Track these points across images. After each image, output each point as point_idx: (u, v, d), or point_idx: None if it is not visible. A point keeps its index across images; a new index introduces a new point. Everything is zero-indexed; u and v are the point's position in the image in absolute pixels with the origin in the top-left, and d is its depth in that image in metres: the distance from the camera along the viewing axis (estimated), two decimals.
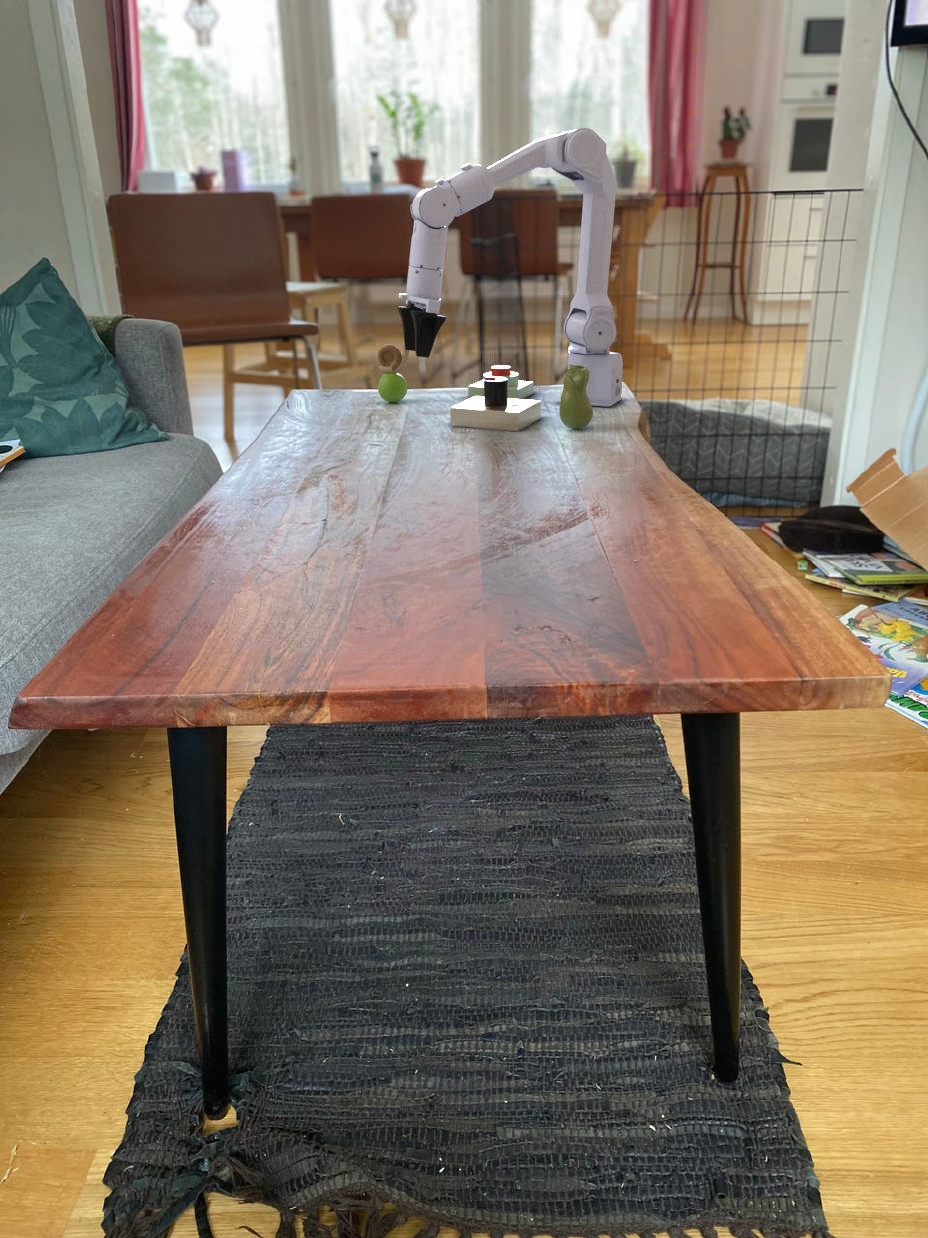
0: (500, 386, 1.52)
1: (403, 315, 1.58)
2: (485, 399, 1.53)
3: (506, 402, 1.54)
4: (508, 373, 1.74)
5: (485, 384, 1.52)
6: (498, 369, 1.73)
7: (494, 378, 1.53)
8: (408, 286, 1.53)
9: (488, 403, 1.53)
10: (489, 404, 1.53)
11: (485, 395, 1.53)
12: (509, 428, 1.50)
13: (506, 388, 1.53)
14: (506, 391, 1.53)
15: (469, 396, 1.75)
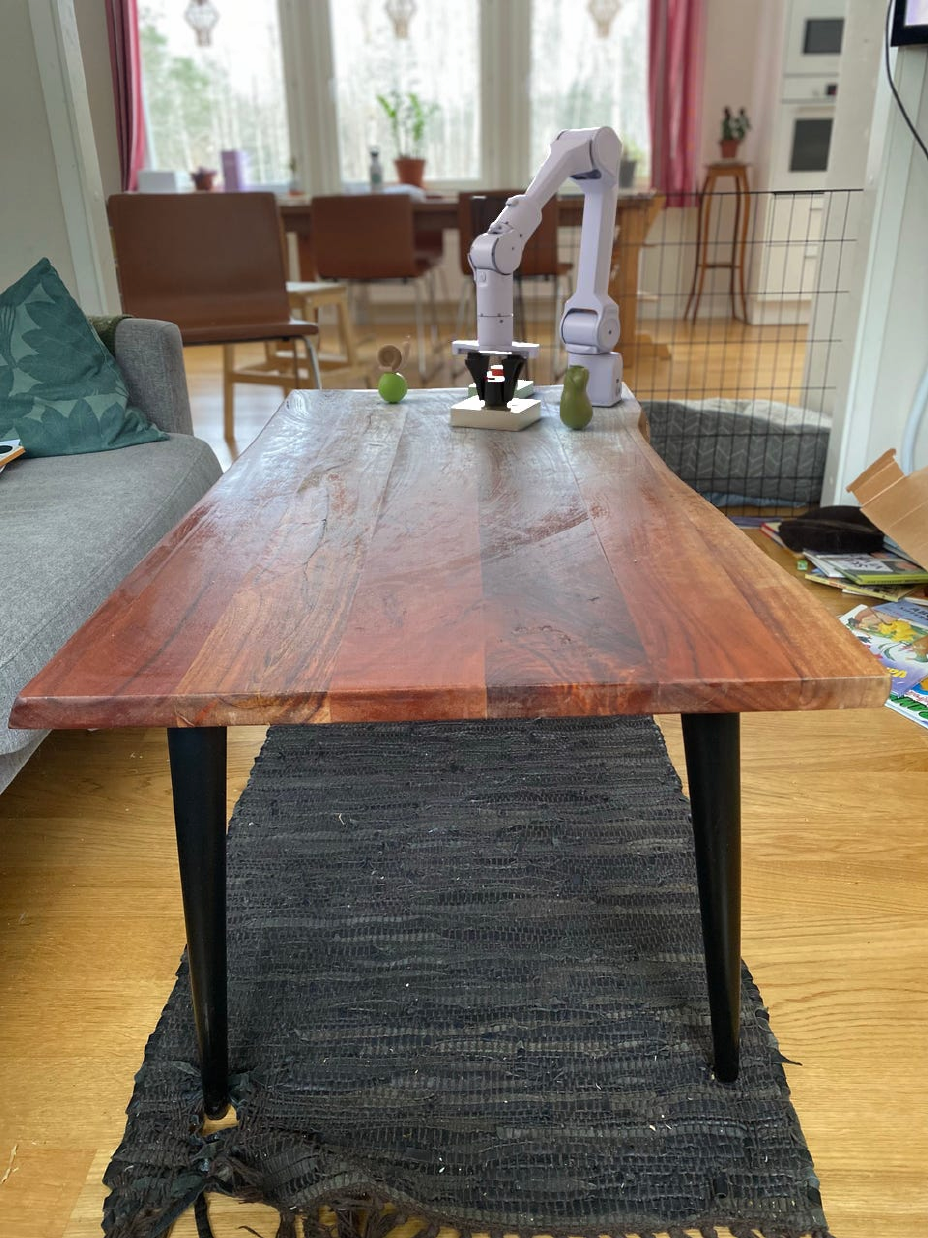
0: (500, 386, 1.52)
1: (478, 367, 1.51)
2: (485, 399, 1.53)
3: None
4: None
5: (485, 384, 1.52)
6: (498, 369, 1.73)
7: (494, 378, 1.53)
8: (491, 337, 1.48)
9: (488, 403, 1.53)
10: (489, 404, 1.53)
11: (485, 395, 1.53)
12: (509, 428, 1.50)
13: None
14: None
15: (469, 396, 1.75)
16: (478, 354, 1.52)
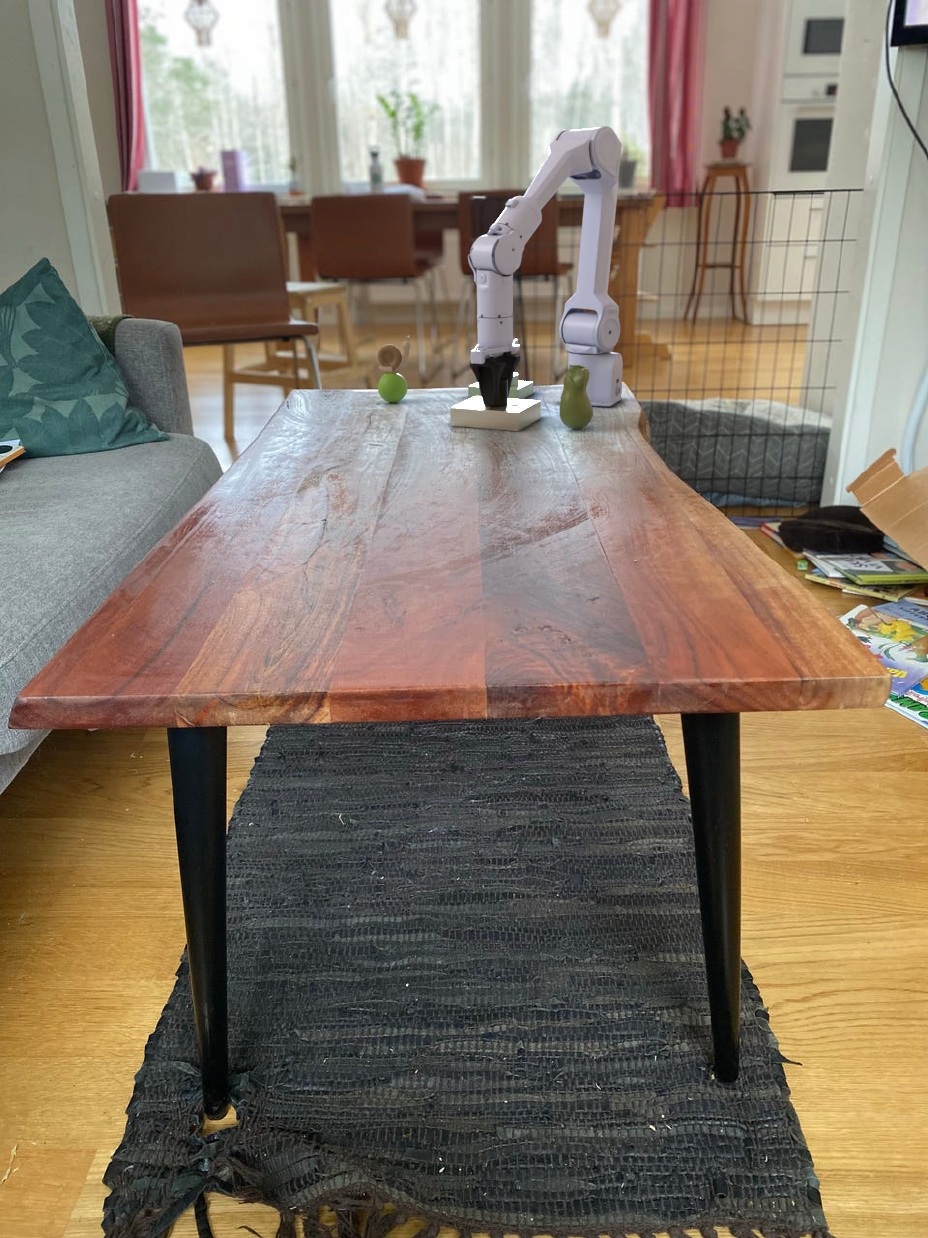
0: None
1: None
2: (502, 400, 1.53)
3: None
4: None
5: (502, 385, 1.52)
6: None
7: None
8: (512, 336, 1.50)
9: (505, 402, 1.53)
10: (506, 403, 1.54)
11: (502, 396, 1.52)
12: (509, 428, 1.50)
13: None
14: None
15: (469, 396, 1.75)
16: (493, 358, 1.49)
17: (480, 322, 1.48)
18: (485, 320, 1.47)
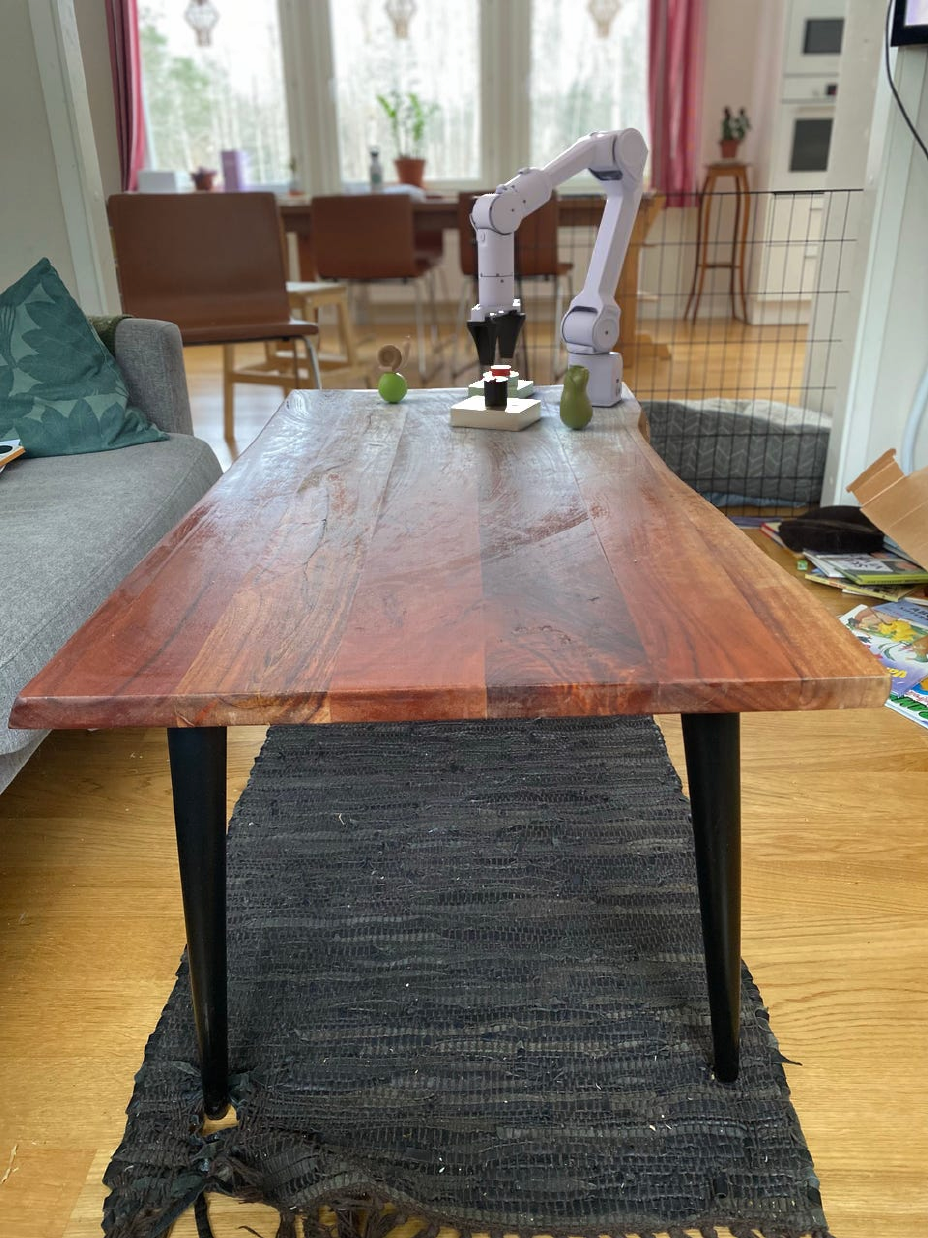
0: None
1: None
2: (502, 400, 1.53)
3: None
4: (508, 373, 1.74)
5: (502, 385, 1.52)
6: (498, 369, 1.73)
7: (496, 378, 1.53)
8: (513, 295, 1.51)
9: (505, 402, 1.53)
10: (506, 403, 1.54)
11: (502, 396, 1.52)
12: (509, 428, 1.50)
13: None
14: None
15: (469, 396, 1.75)
16: (490, 318, 1.50)
17: (481, 281, 1.50)
18: (486, 279, 1.49)
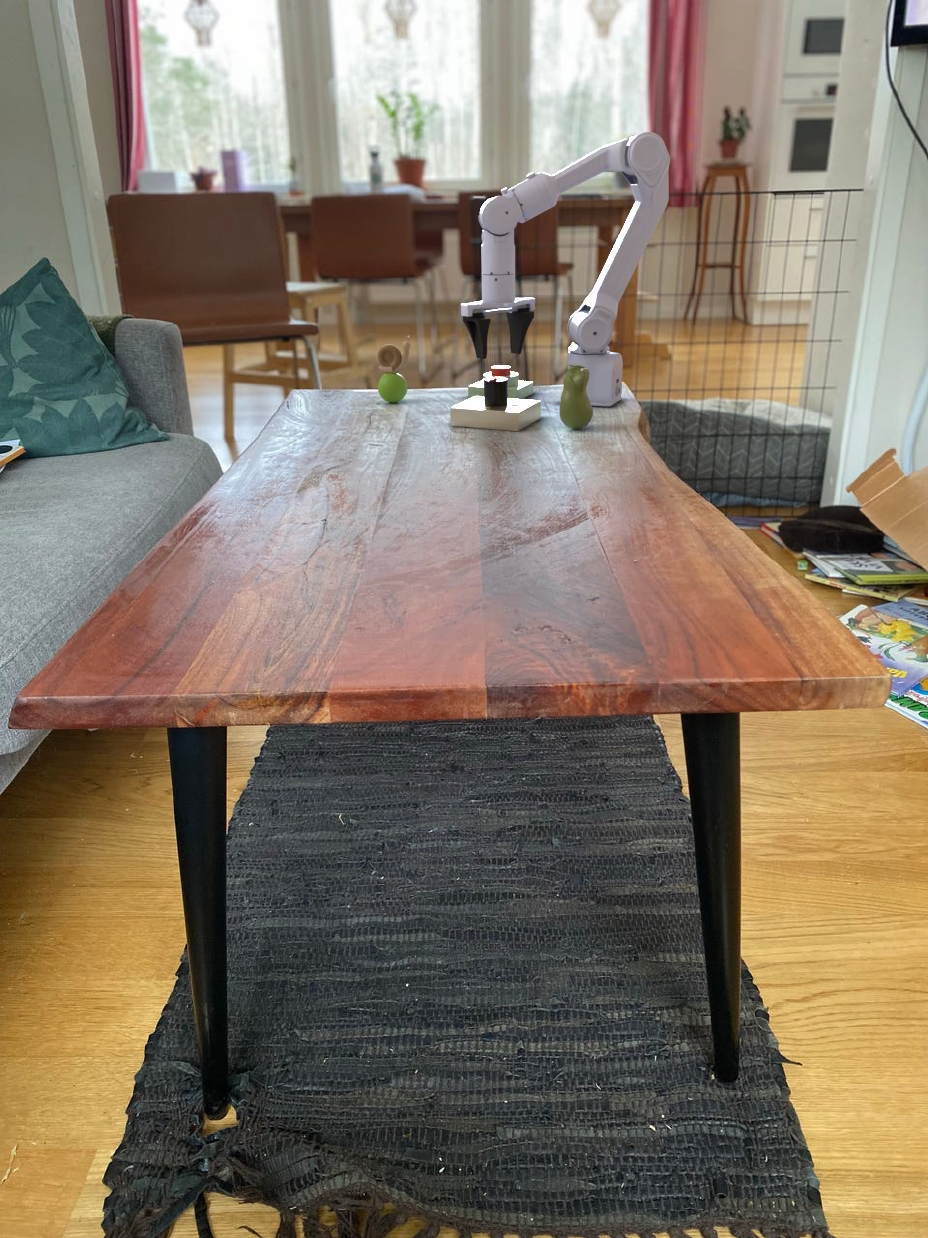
0: None
1: (488, 325, 1.59)
2: (502, 400, 1.53)
3: None
4: (508, 373, 1.74)
5: (502, 385, 1.52)
6: (498, 369, 1.73)
7: (496, 378, 1.53)
8: (510, 293, 1.59)
9: (505, 402, 1.53)
10: (506, 403, 1.54)
11: (502, 396, 1.52)
12: (509, 428, 1.50)
13: None
14: None
15: (469, 396, 1.75)
16: (482, 313, 1.59)
17: None
18: (483, 277, 1.58)
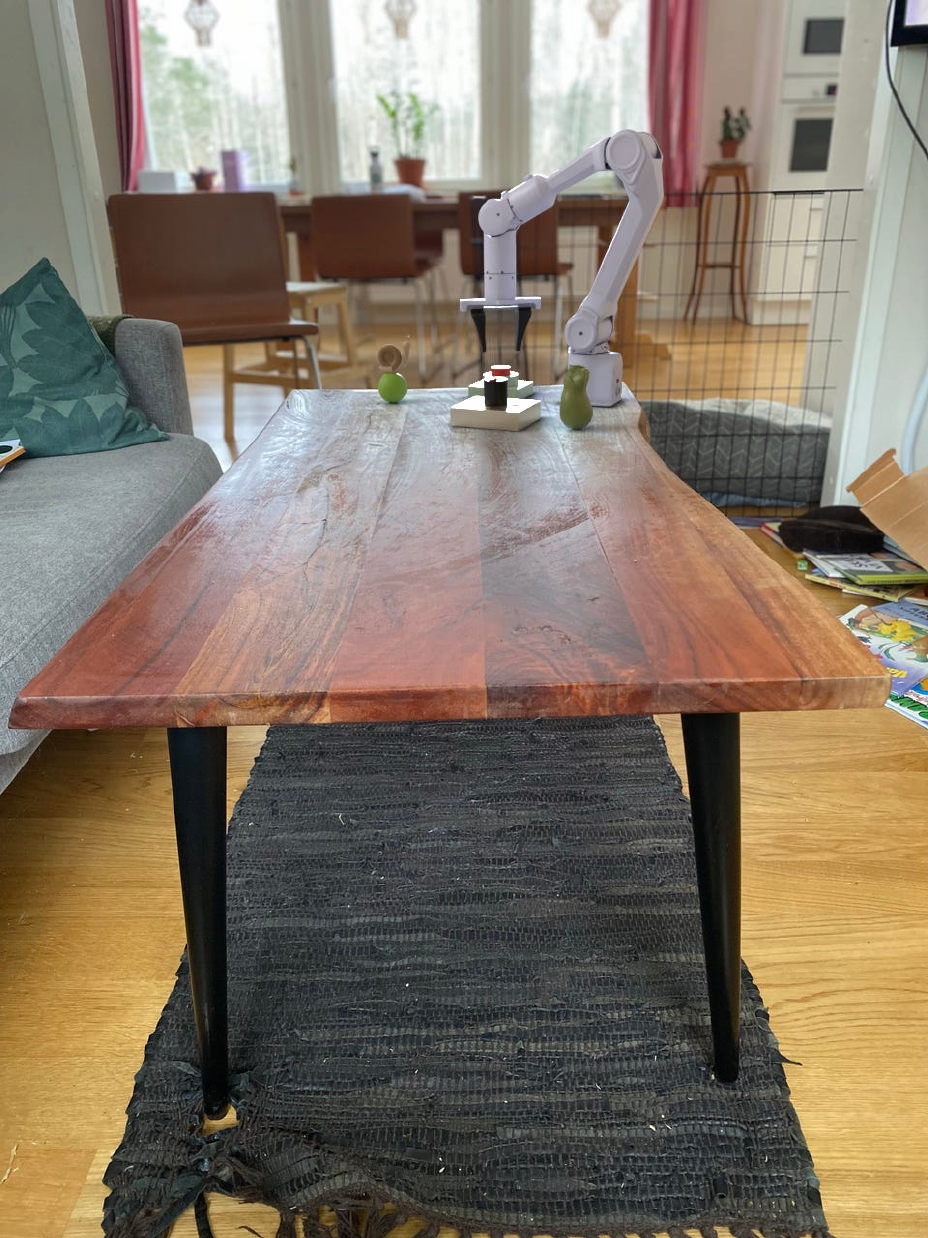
0: None
1: (485, 321, 1.69)
2: (502, 400, 1.53)
3: None
4: (508, 373, 1.74)
5: (502, 385, 1.52)
6: (498, 369, 1.73)
7: (496, 378, 1.53)
8: (505, 292, 1.66)
9: (505, 402, 1.53)
10: (506, 403, 1.54)
11: (502, 396, 1.52)
12: (509, 428, 1.50)
13: None
14: None
15: (469, 396, 1.75)
16: (481, 309, 1.69)
17: None
18: (484, 275, 1.68)
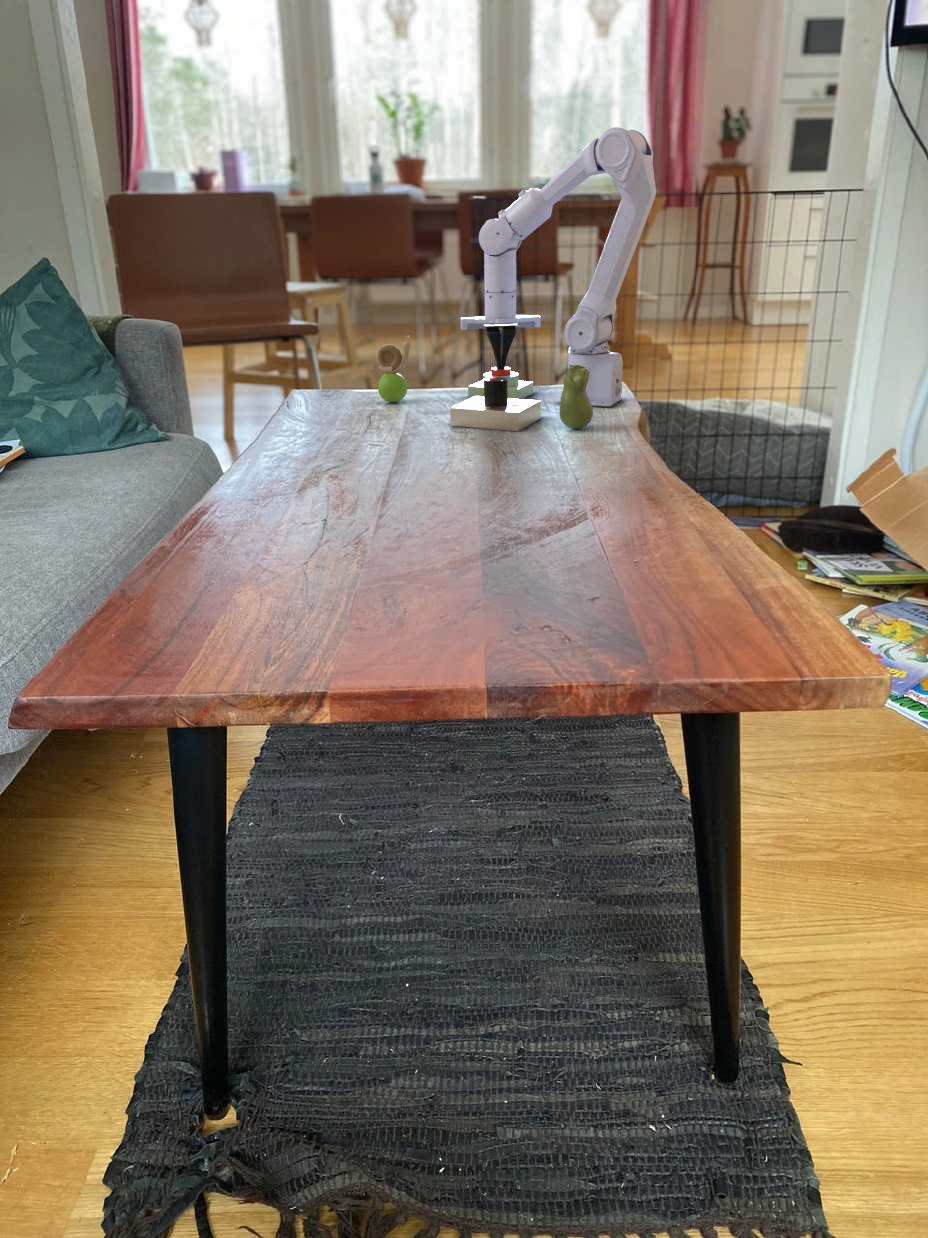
0: None
1: (500, 339, 1.70)
2: (502, 400, 1.53)
3: None
4: (508, 374, 1.74)
5: (502, 385, 1.52)
6: (498, 370, 1.73)
7: (496, 378, 1.53)
8: (505, 311, 1.67)
9: (505, 402, 1.53)
10: (506, 403, 1.54)
11: (502, 396, 1.52)
12: (509, 428, 1.50)
13: None
14: None
15: (469, 396, 1.75)
16: (497, 327, 1.70)
17: None
18: None
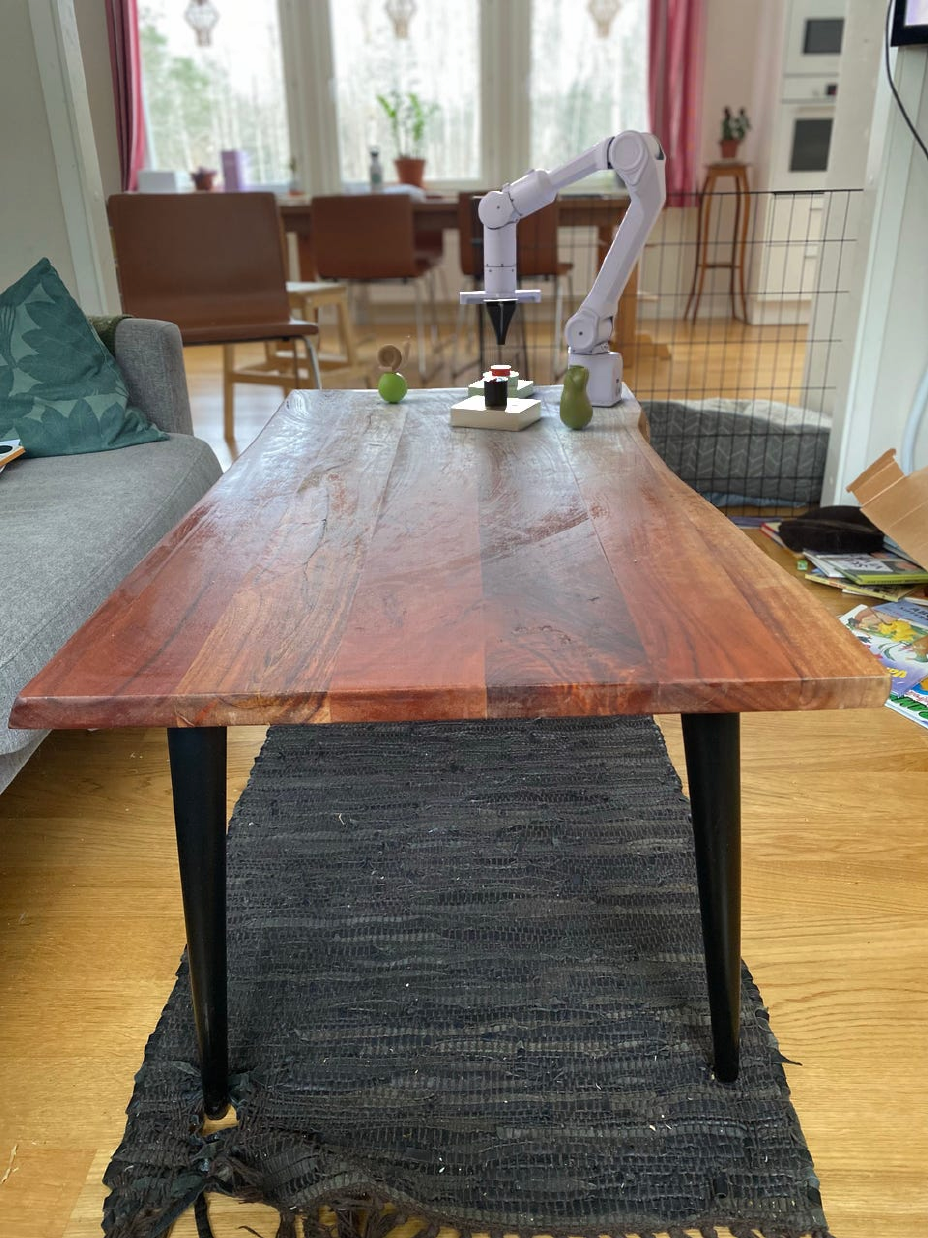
0: None
1: (500, 313, 1.68)
2: (502, 400, 1.53)
3: None
4: (508, 373, 1.74)
5: (502, 385, 1.52)
6: (498, 369, 1.73)
7: (496, 378, 1.53)
8: (505, 285, 1.66)
9: (505, 402, 1.53)
10: (506, 403, 1.54)
11: (502, 396, 1.52)
12: (509, 428, 1.50)
13: None
14: None
15: (469, 396, 1.75)
16: (497, 302, 1.69)
17: None
18: (484, 268, 1.67)
